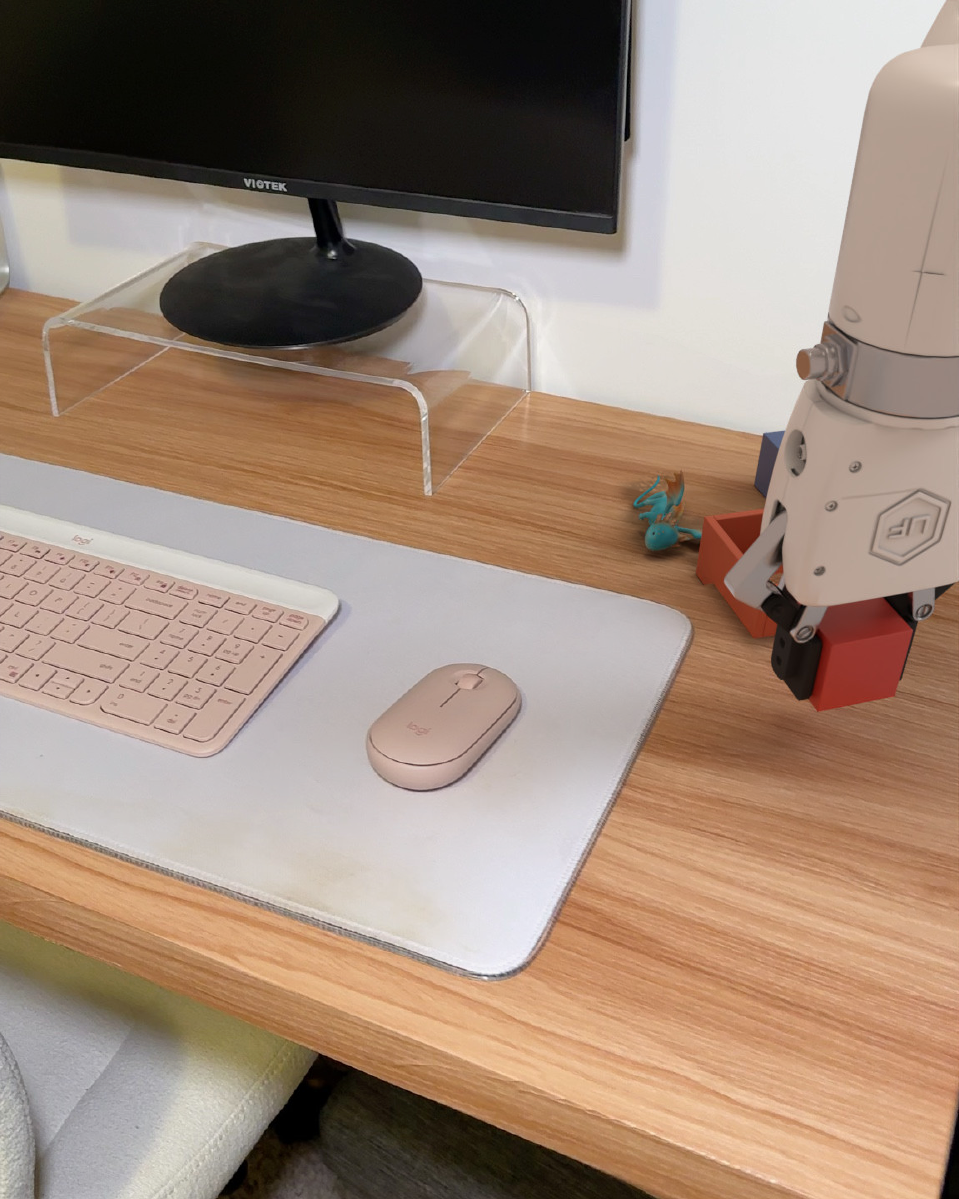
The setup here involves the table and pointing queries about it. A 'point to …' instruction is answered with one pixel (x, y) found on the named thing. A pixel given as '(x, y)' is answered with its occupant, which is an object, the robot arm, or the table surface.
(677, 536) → the dragon figurine
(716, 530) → the red bin
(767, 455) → the blue block
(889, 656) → the red block
